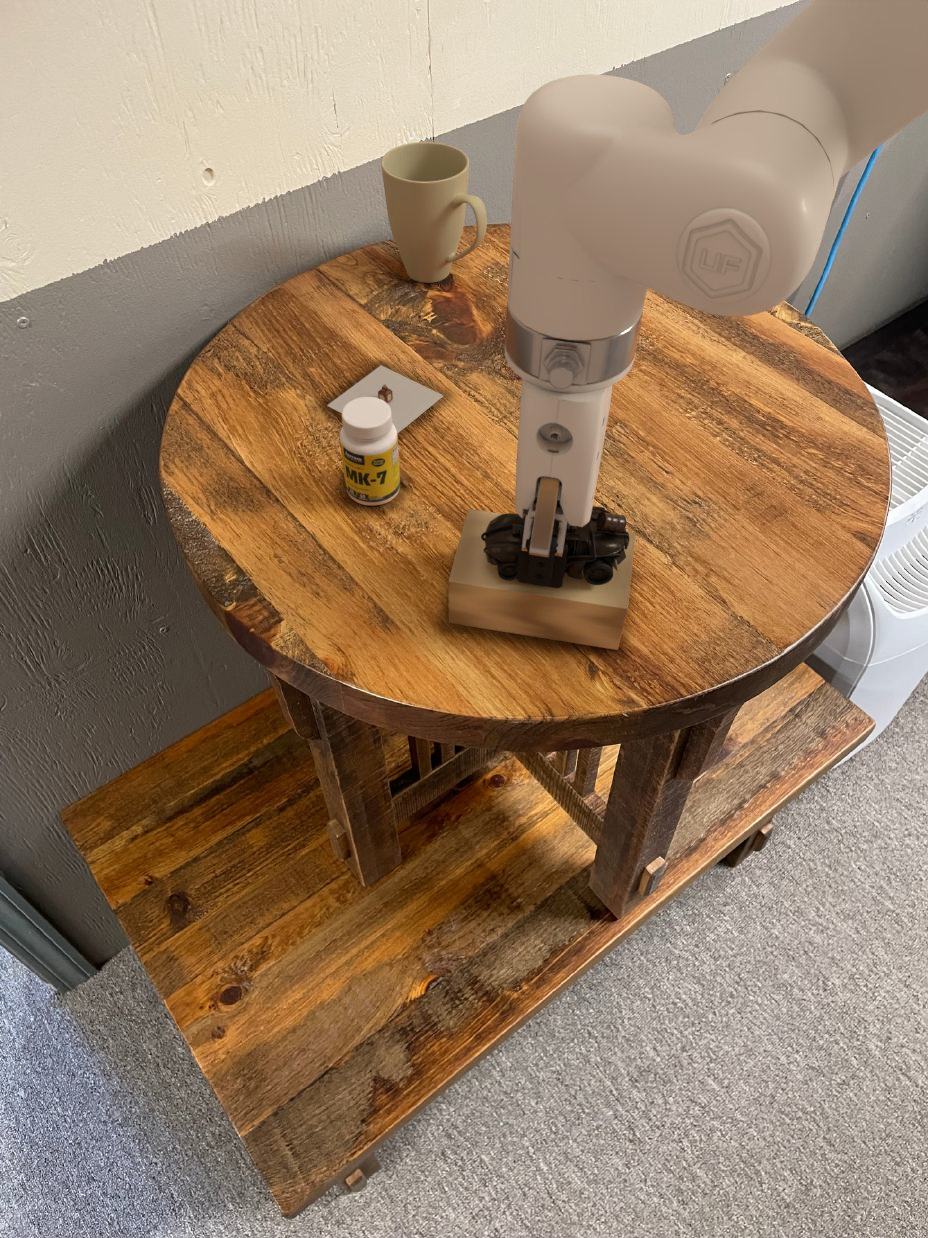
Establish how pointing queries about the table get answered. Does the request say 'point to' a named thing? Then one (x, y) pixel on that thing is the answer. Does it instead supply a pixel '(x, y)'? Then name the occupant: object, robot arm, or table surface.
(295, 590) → the table surface
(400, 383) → the gray square plate
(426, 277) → the mug
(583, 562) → the toy car
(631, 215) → the robot arm
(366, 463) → the supplement bottle
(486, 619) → the birch block
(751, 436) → the table surface
